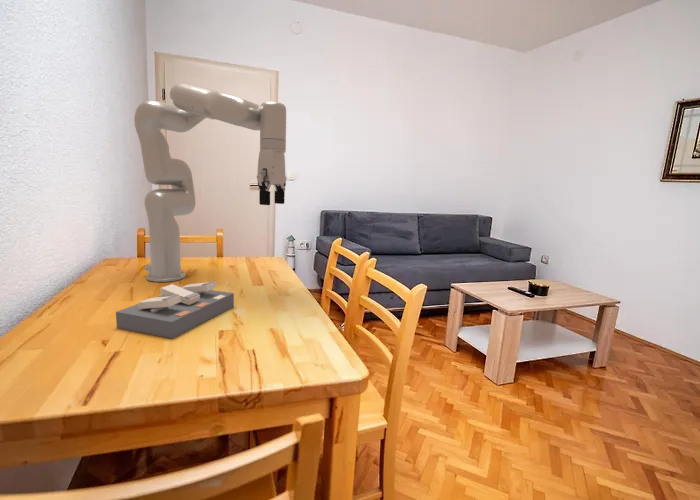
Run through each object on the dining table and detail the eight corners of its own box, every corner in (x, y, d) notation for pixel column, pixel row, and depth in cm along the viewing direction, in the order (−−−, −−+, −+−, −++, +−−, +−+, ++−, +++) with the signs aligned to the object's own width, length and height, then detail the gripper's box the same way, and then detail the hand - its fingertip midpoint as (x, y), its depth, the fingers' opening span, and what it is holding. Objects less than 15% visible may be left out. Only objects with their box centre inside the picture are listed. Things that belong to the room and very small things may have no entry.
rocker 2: (159, 293, 95) (160, 286, 94) (171, 289, 99) (172, 283, 98) (188, 305, 93) (189, 298, 92) (199, 300, 97) (200, 294, 96)
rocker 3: (180, 293, 102) (179, 286, 102) (190, 289, 106) (189, 283, 105) (207, 290, 99) (206, 284, 99) (216, 287, 103) (215, 280, 103)
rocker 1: (139, 309, 89) (137, 301, 88) (152, 304, 92) (150, 296, 92) (168, 306, 86) (167, 298, 86) (181, 301, 90) (179, 294, 89)
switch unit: (116, 327, 87) (115, 308, 87) (187, 299, 110) (186, 283, 109) (172, 338, 83) (171, 318, 82) (233, 306, 106) (233, 290, 105)
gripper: (274, 149, 119) (274, 202, 122) (246, 142, 102) (246, 204, 105) (296, 149, 117) (295, 203, 120) (271, 143, 100) (270, 206, 103)
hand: (272, 204), depth 113 cm, fingers open, 9 cm apart
